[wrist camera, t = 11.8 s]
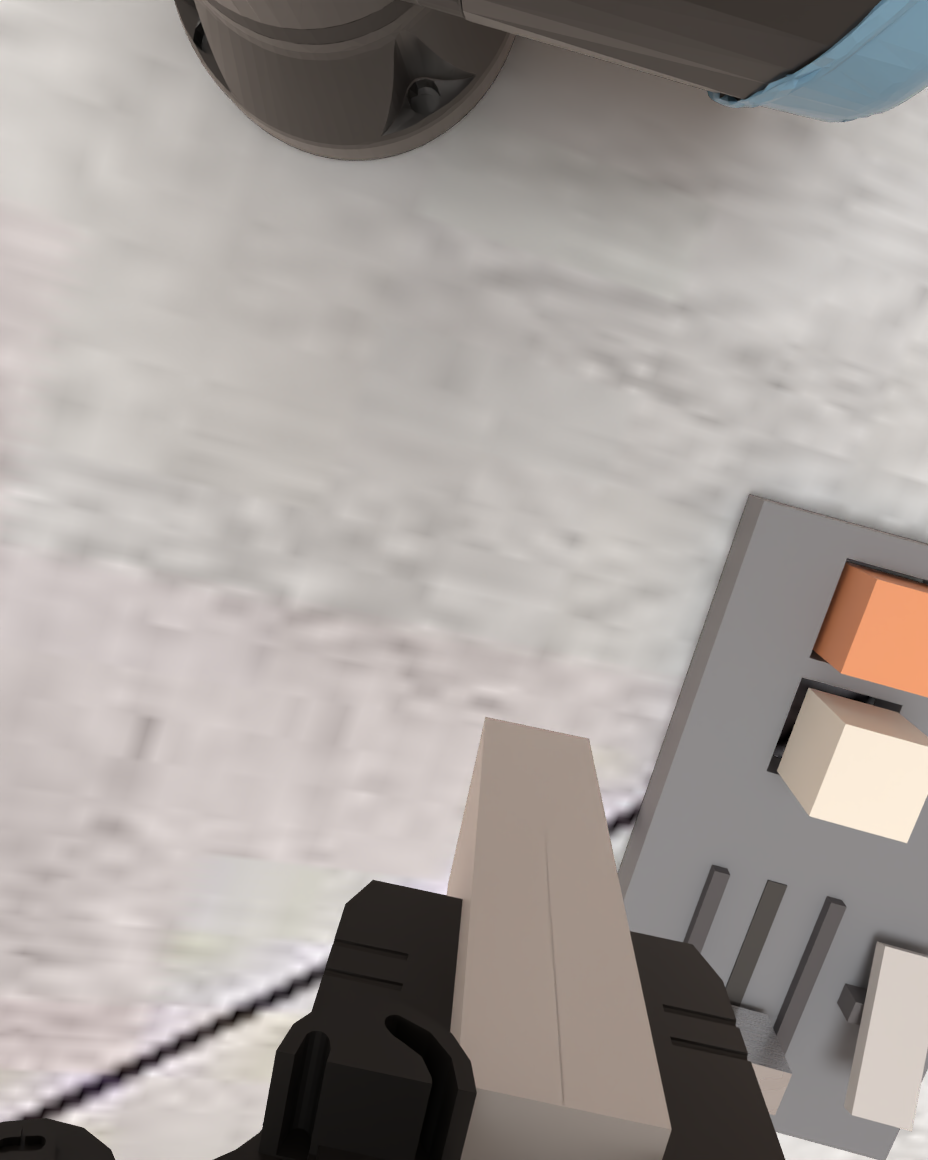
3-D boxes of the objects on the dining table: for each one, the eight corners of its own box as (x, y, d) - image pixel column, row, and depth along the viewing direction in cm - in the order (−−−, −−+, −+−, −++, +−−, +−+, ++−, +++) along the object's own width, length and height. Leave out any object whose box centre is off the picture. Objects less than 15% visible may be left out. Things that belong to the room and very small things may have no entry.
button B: (808, 687, 41) (845, 723, 37) (897, 712, 41) (946, 751, 37) (776, 770, 42) (809, 816, 37) (864, 794, 42) (907, 843, 38)
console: (749, 494, 42) (773, 504, 38) (1104, 593, 42) (1163, 613, 38) (560, 1039, 49) (564, 1094, 45) (866, 1123, 49) (896, 1184, 45)
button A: (837, 558, 42) (877, 579, 37) (925, 583, 42) (975, 606, 37) (805, 643, 43) (840, 673, 38) (891, 667, 43) (936, 699, 38)
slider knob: (700, 996, 45) (718, 1054, 41) (767, 1014, 45) (792, 1074, 41) (685, 1034, 45) (701, 1095, 41) (751, 1053, 45) (774, 1115, 41)
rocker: (876, 941, 43) (885, 946, 43) (934, 957, 43) (943, 962, 43) (843, 1107, 42) (851, 1114, 42) (902, 1123, 42) (911, 1131, 42)
